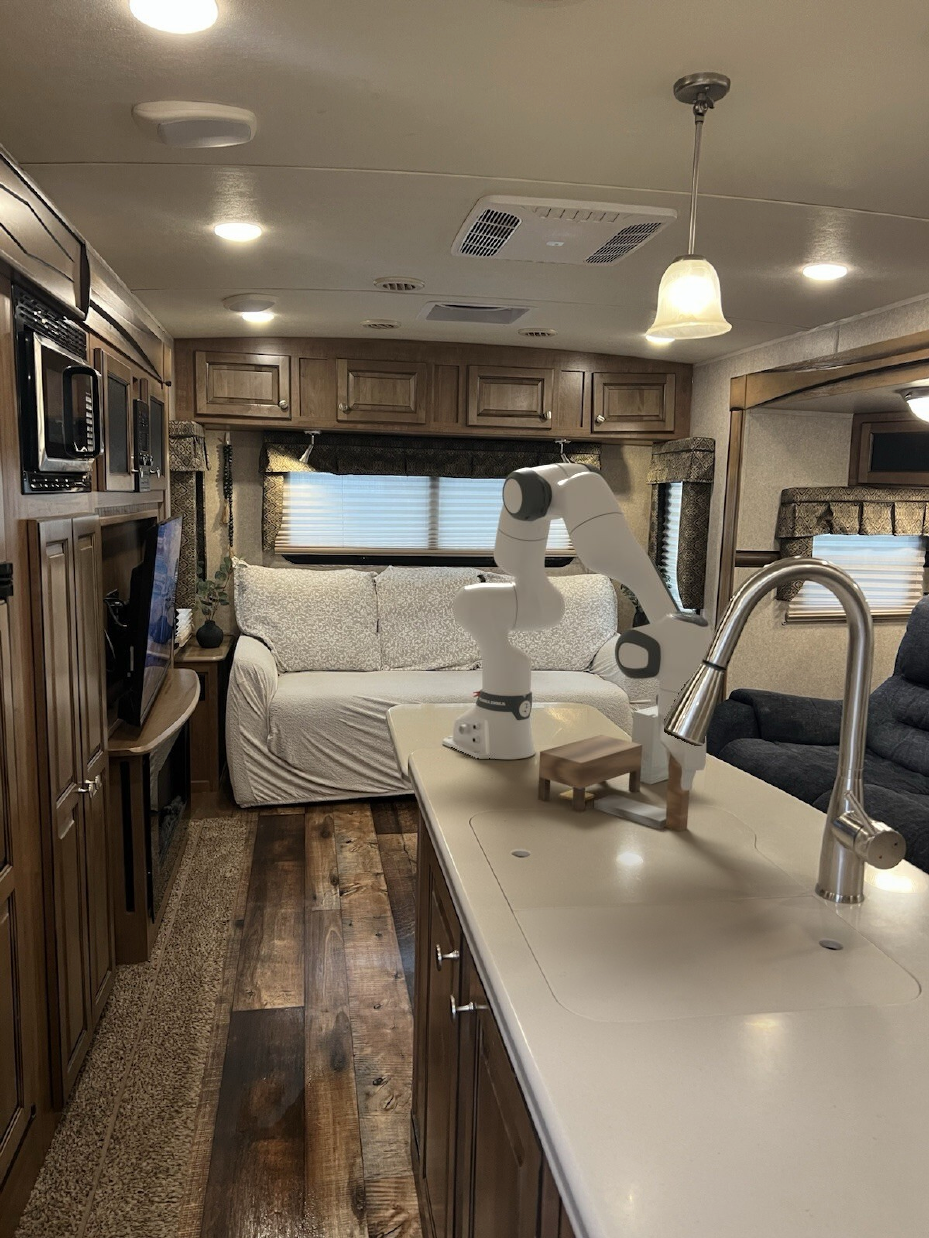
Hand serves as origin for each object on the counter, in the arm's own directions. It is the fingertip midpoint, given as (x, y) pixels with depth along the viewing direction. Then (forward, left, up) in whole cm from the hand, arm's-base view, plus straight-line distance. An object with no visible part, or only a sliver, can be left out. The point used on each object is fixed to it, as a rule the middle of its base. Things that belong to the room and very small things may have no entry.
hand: (679, 781), depth 163 cm
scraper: (-7, 0, -9) cm, 12 cm away
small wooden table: (-22, +3, -9) cm, 24 cm away
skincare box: (-20, +22, -9) cm, 31 cm away
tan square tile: (-23, 0, -9) cm, 25 cm away
